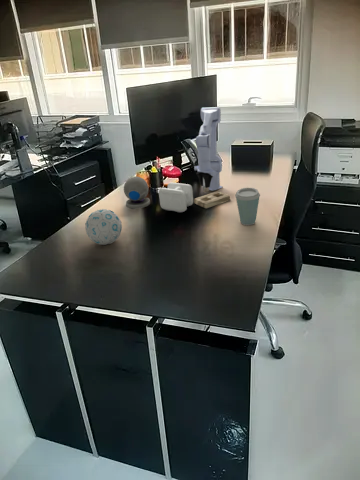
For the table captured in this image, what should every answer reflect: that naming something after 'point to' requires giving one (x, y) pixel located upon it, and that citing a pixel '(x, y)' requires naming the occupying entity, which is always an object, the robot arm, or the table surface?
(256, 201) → the disposable coffee cup
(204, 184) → the pin
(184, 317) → the table surface
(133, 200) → the webcam
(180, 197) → the cable organizer
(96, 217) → the puzzle ball
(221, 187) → the robot arm
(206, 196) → the socket block
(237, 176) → the table surface
